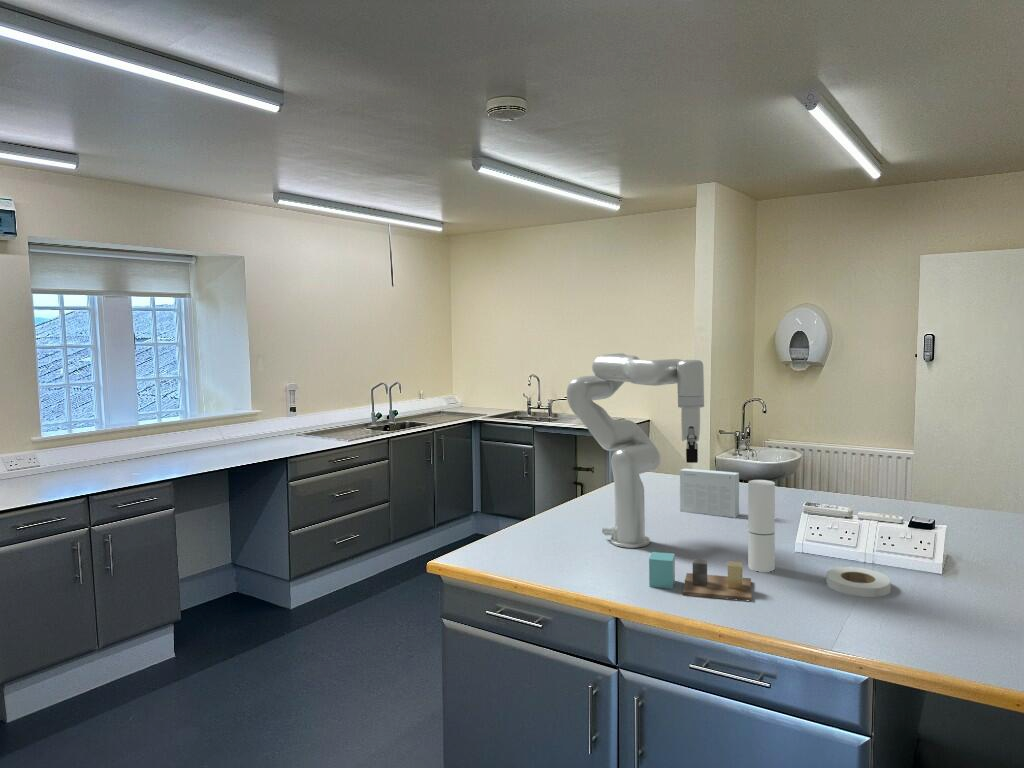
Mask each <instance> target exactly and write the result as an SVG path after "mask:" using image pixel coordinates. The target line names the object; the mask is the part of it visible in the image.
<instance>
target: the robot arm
mask: <svg viewBox="0 0 1024 768" xmlns="http://www.w3.org/2000/svg"><path fill="white" fill-rule="evenodd" d="M591 369H592V372H593V374H594V375H586V376H579V377H576V378H574V379H572V380H571V381H570V382H569V383H568V386H567V387H566V388H567V389H566V400H567V403H568V406H569V408H570V409H571V411H572V412H573V414H574V415H575V416H576V417H577V418H578V419H579V421H580V422H582V424H584V426H585V427H586V429H587V430H588V432H589V433H590V434H591V435H592V437H593V438H594V439H595V441H596V442H597V443H598V444H599V446H600V447H601V448H602V449H603V450H606V451H614V452H613V453H612V456H611V460H610V467H611V471H612V475H613V486H614V522H615V523H614V525H615V526H614V527H612V528H608V527H602V529H601V532H602V533H601V534H603V535H604V536H611V537H610V543H611V544H612V545H614V546H617V547H620V548H629V549H635V548H642V547H643V548H644V547H646V546H648V545H649V544H650V543H651V541H650V540H651V539H650V537H649V536H647V535H645V533H646V532H645V531H646V528H645V527H646V524H645V523H646V519H645V487H644V486H645V485H644V484H643V483H644V482H643V481H642V479H641V476H640V475H641V474H645V473H649V472H652V471H654V470H656V469H657V468H659V465H660V463H661V456H660V455H661V454H660V452H659V450H658V448H657V447H656V445H655V444H654V442H653V441H652V440H651V439H650V437H648V436H647V434H646V433H645V431H644V430H643V429H642V428H641V427H640V426H639V424H637V423H636V422H634V421H632V420H630V419H621V420H614V418H612V417H611V415H610V414H608V412H607V411H606V409H604V408H603V407H602V406H601V405H599V404H597V403H596V402H594V401H597V400H598V401H599V400H605V399H609V398H610V397H612V396H613V395H614V394H615V393H616V392H617V391H618V390H619V388H620V387H621V386H622V385H624V383H631V384H635V385H641V386H657V387H658V386H665V385H673V384H674V385H677V407H678V408H681V412H680V413H681V414H680V415H681V416H680V417H681V423H680V424H681V425H680V426H681V441H682V442H684V441H686V449H685V452H686V453H685V455H686V456H685V459H686V463H689V464H690V463H691V464H692V463H693V464H697V463H698V461H699V459H698V458H699V454H698V453H699V451H698V449H699V448H698V443H697V442H698V441H700V432H701V408H704V407H705V387H704V386H705V384H704V383H705V379H704V377H705V375H704V373H705V371H704V363H703V361H702V360H700V359H679V358H670V359H667V358H666V359H656V360H652V359H651V360H650V359H649V360H648V359H647V360H645V359H640V358H639V357H638V356H636V355H630V354H629V355H628V354H625V353H623V352H622V353H621V352H619V353H605V354H601V355H599V356H597V357H596V358H595V359H594V360H593V362H592V366H591Z"/></svg>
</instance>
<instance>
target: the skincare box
mask: <svg viewBox="0 0 1024 768" xmlns="http://www.w3.org/2000/svg"><path fill="white" fill-rule="evenodd" d="M679 512H683V513H692V514H699V515H700V514H701V515H709V516H717V517H725V518H735V519H736V518H737V517H738V516H739V515H740V472H734V471H724V470H712V469H711V470H709V469H697V468H682V469H679Z"/></svg>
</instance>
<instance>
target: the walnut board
mask: <svg viewBox="0 0 1024 768" xmlns="http://www.w3.org/2000/svg"><path fill="white" fill-rule="evenodd" d="M683 583H684V584H683V588H682V596H687V597H688V596H689V597H698V596H701V597H700V598H709V597H715V598H714V599H719V598H728V599H727V600H730V599H737V600H736V601H741V600H749V601H748V602H752V578H751V577H750V578H749V577H742V589H732V588H728V575H718V574H717V575H716V574H715V575H714V574H708V559H702V558H693V559H692V573H691V572H690V573H689V572H687V573H686V574H685V580H684V582H683Z"/></svg>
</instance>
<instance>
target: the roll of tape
mask: <svg viewBox="0 0 1024 768" xmlns="http://www.w3.org/2000/svg"><path fill="white" fill-rule="evenodd" d="M825 581H826V583H827V584H826V583H825V584H826V585H827V586H828V588H830V589H832V590H833V589H834V591H835V592H838V593H842V594H845V595H849V596H855V597H862V598H877V597H884V596H887V595H889V594H890V593H891V589H892V581H891V579H890V578H889V576H887V575H885V573H882V572H878V571H877V570H874V569H869V568H863V567H854V566H839V567H832V568H830V569H829V570H827V571H826V574H825Z"/></svg>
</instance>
